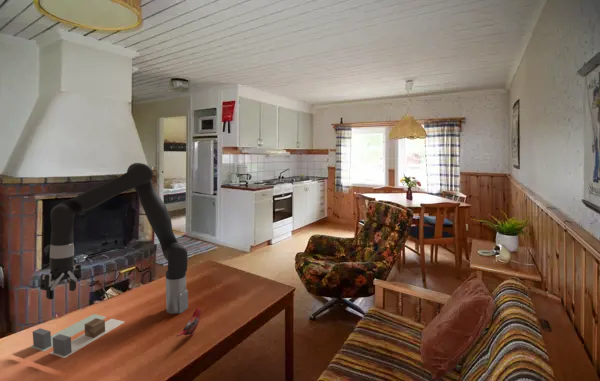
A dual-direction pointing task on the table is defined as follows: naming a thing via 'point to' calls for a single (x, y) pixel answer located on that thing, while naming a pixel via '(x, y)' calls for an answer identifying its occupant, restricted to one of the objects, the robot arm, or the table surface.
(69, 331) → the sage strip
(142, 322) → the table surface
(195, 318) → the decorative bird figurine
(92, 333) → the walnut block
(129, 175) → the robot arm
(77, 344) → the cream strip
